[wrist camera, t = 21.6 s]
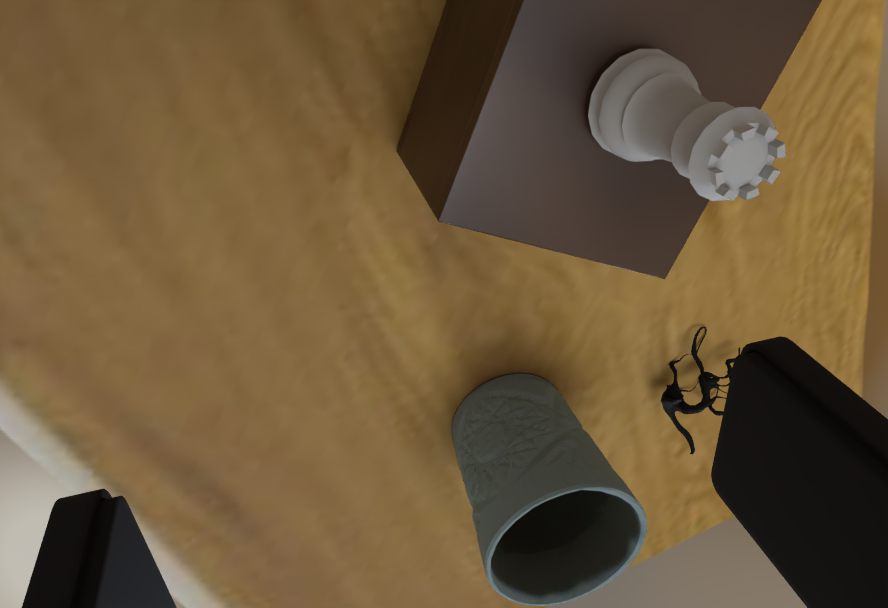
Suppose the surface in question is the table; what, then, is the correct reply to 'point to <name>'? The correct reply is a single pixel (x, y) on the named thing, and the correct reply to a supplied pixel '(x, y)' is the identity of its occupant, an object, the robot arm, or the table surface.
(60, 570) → the robot arm
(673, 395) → the creature
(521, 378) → the grey green cup
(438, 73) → the cabinet
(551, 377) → the table surface
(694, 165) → the rook chess piece
